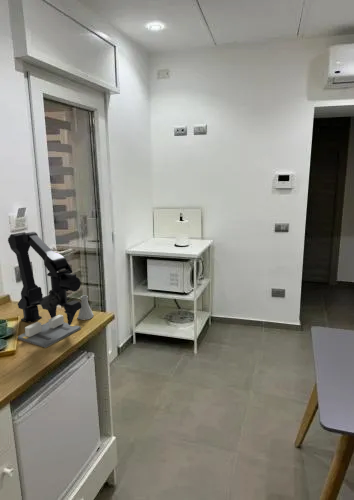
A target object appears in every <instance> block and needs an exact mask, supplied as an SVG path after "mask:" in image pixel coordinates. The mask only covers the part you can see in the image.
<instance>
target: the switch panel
mask: <svg viewBox="0 0 354 500" xmlns="http://www.w3.org/2000/svg"><path fill="white" fill-rule="evenodd" d="M41 327H42V331H41V332H39V333H37V334H35V335H33V336H31V337H28V336H26V334H25V332H24V333H22V334H19V335H17V336H18V340H20V341H23V342H25V343H28V344H31V345H32V344H33V345H35V346H39V347H42V348H45V349H46V348H48V347H50V346H52V345H54V344H56V343H58V342H59V341H61V340H63V339H65V338H67V337H69V336H71V335H72V334H74V333H76V332H78V331H79V330H81V329H82V327H81V326H80V325H77V324H76V325H75V324H72V323H71V325H69V324H68V322H65V321H64V324H62V325H60V326H57V327H55V328H49V321H48V322H45V323H43V324H41Z"/></svg>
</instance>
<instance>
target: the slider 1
mask: <svg viewBox="0 0 354 500" xmlns="http://www.w3.org/2000/svg"><path fill="white" fill-rule="evenodd" d="M41 325H42V322H40V321H36V322H33V323H30V324H29V325H27V326H25V327H24V331H25V332H24V333H25V334H26V336H28V337H31V336H33V335H35V334H37V333H39V332H41V331H42V327H41Z"/></svg>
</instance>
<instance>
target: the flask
mask: <svg viewBox="0 0 354 500" xmlns="http://www.w3.org/2000/svg"><path fill="white" fill-rule="evenodd" d="M88 297H89V296H88V295H81V296H80V299H81V302H80V303H81V308H80V309H79V310H78V311H79V312H78V315H77V319H78V320H81V321H86V320H90V319H92V318H94V313H93V310H92V309H91V307H90V304H89V301H88Z"/></svg>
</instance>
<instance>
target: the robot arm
mask: <svg viewBox="0 0 354 500" xmlns="http://www.w3.org/2000/svg"><path fill="white" fill-rule="evenodd" d="M7 243H8V244H9V247H10V250H11V251H12V252H13V253H15V255H16V256H15V257H16V260H17V263H18V264H17V265H18V269H19V273H20V278H21V282H22V289H21V291H20V300H19V301H18V302H17V306H18V309H20V310H22V311H23V312H22V313H23V317H22V318H20V321H24V322H26V323H30V324H32V323H34V322H35V321H36V322H37V320H40V319H42V316H40V313H39V311H40V310H39V306H40V307H41V308H42V309H43V310H46V311H47V312H48V314H49V316H50V319H51V318H53V317H55V316H57V307H58V306H61V307H64V308H63V309H64V311H63V312H64V313H65V314H66V316H67V317H66V319H67V323H68V324H69V325H71V324H72V323H73V320H74V318H75V316H76V314H77V311H80V308H81V302H80V301H78V300H74V299H73V300H71V301H70V297H68V295H67V294H68V293H67V292H69V291H70V292H77V291H78V290H79V289H80V288H81V284H82V282H81V280H80V278H79V277H77V274H76V273H73V270H72V267H71V265H70V264H69V262H68V261H67V259H66V257H64V256H63V255H62V254H60V253H58V252H55V251H54V250H52V249H51V248H50V247H49V246H48V245H47V244H46V243H45V242H44V241H43V239H41V238H40V237H39V235H38V232H35V231H30V232H24V231H23V232H18V233H17V232H16V233H13V234H12V233H11V234H10V235H9V237H8V238H7ZM30 248H31V249H32V250H34V251H35V252H36V253H37V254H38V255H39V257H40V258H41V259H42V260H43V263H44V264H43V265H44V266H45V268H46V270H47V271H48V273H47V274H46V276H48V277H50V285H51V289H50V290H49V291H48V292H49V293H48V295H46V296H44V294H43V291H42V287H40V286H38V285H37V284H36V282H35V278H34V273H33V269H32V265H31V259H30V255H29V251H30ZM68 301H69V302H68Z"/></svg>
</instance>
